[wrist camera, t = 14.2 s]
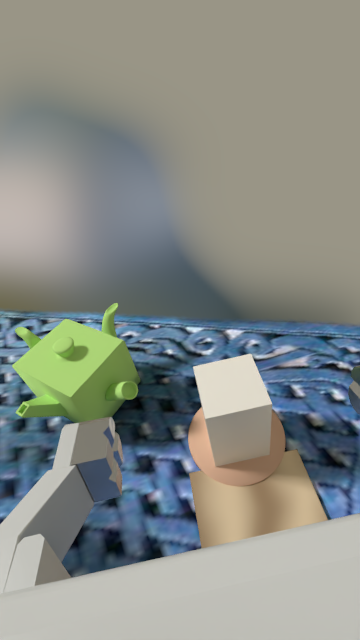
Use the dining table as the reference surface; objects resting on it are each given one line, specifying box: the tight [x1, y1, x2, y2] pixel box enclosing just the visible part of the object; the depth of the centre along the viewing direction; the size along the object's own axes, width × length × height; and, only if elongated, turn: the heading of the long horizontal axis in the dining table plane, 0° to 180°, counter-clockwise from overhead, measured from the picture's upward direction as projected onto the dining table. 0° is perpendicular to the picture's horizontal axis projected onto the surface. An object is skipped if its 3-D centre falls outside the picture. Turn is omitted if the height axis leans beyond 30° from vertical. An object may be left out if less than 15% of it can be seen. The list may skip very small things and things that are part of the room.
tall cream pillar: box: [193, 354, 272, 467], centre depth 34 cm, size 6×6×10 cm
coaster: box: [188, 407, 286, 486], centre depth 37 cm, size 11×11×1 cm
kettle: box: [12, 303, 141, 423], centre depth 41 cm, size 15×14×11 cm
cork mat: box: [189, 449, 328, 548], centre depth 31 cm, size 12×12×1 cm
